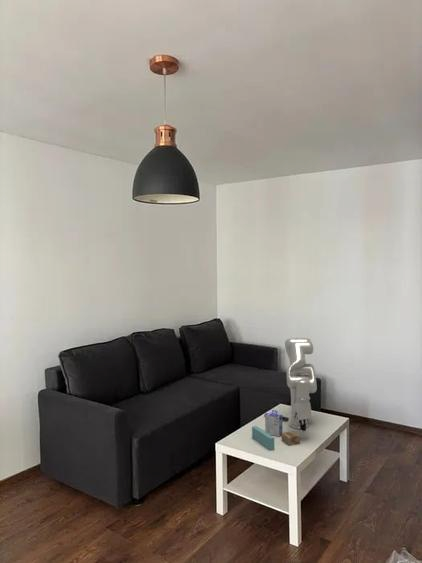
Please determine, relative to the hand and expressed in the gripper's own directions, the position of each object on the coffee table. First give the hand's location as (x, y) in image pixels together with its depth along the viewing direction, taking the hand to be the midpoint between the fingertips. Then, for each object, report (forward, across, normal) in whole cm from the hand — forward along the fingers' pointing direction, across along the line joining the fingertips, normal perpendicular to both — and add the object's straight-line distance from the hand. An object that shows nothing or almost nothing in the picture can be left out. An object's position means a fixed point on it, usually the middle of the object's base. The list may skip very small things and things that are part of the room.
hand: (303, 430), depth 257 cm
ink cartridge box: (+6, +10, -16) cm, 20 cm away
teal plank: (+6, +24, -7) cm, 26 cm away
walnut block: (+6, +8, -1) cm, 11 cm away
